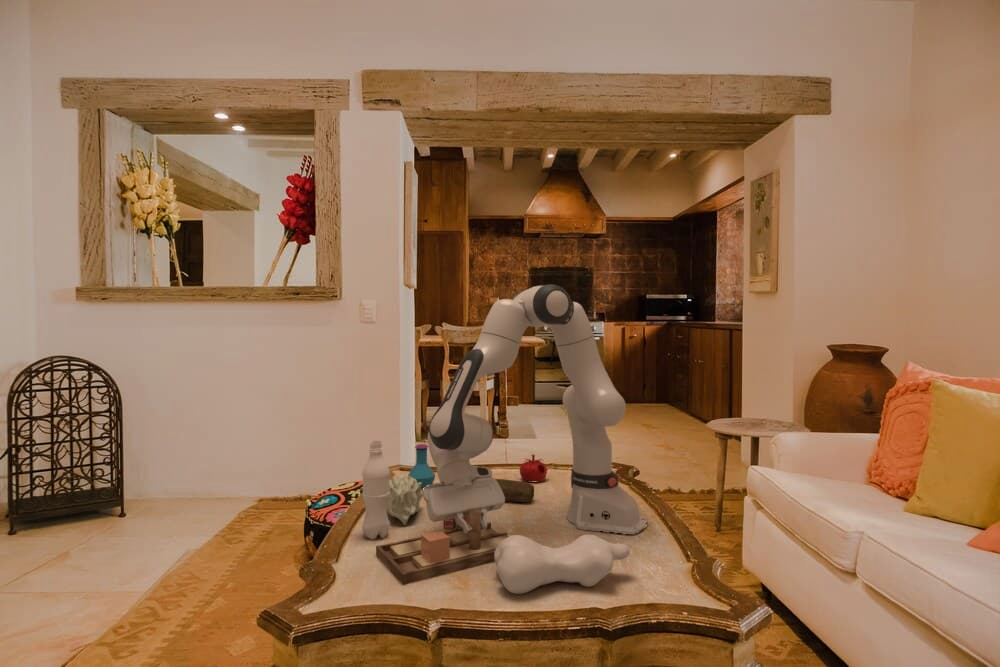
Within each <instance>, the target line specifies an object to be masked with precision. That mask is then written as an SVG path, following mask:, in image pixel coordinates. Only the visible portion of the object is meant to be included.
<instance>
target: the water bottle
mask: <svg viewBox="0 0 1000 667" xmlns="http://www.w3.org/2000/svg"><path fill="white" fill-rule="evenodd" d="M369 446H370V447H369V450H368V452H369V456H368V459H367V461H366V462H365V465H364V466H363V469H362V472H361V473H362V474H361V475H362V495H361V497H362V500H363V501H364V502H363V503H364V506H365V513H364V518H363V521H362V522H363V523H362V525H361V526H362V532H363V535H364V537H365V538H368V539H370V540H377V537H378V535H379V537H380V538H381V539H383V538H385V537H386V536H387V535H388V533H389V530H390V526H391V523H390V520H389V517H388V511H387V504H388V500H389V497H390V491H389V480H390V474H391V472H390V468H389V466H388V463H387V462H386V459H385V458H384V456H383V451H384V450H383V442H382V441H381V440H380V441H379V440H375V441H373V440H372V441H370V445H369Z"/></svg>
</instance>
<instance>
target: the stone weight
mask: <svg viewBox="0 0 1000 667" xmlns="http://www.w3.org/2000/svg"><path fill="white" fill-rule="evenodd" d="M494 479H495V480H496V481H497V482H498V484H499V485H500V487H501V489H502V492H503V494H504V496H505V502H512V503H530V502H532V501H533V499H534V496H535V486H534V485H533V484H532V483H530V482H527V481H519V480H513V479H511V480H510V479H505V478H504V479H503V478H494Z"/></svg>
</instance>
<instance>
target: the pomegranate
mask: <svg viewBox="0 0 1000 667" xmlns="http://www.w3.org/2000/svg"><path fill="white" fill-rule="evenodd" d="M531 457H532V458H531V459H529V458H526V459H525V461H524V462H523V463H522V464H521V465H520V466H519V474H520V477H521V478H522V479H523V480H524V481H525V480H526V481H525V482H527V481H541V480H543V481H545V479H546V476H547V473H548V469H547V466H546V465H545V463H544V459H541V458H540V459H536V460H535V457H536V455H535V454H531ZM542 461H543V462H542ZM541 482H542V481H541Z"/></svg>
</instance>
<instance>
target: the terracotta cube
mask: <svg viewBox="0 0 1000 667" xmlns="http://www.w3.org/2000/svg"><path fill="white" fill-rule="evenodd" d="M444 532H445V531H442V530H441V529H440V530H435V531H430V532H426V533H422V534H420V537H421V556H422V557H423V558H424V559H425V560H426V561H428V562H429V563H434V562H438V561H442V560H446V559H450V537H449V536H448V535H446V534H445V533H444Z"/></svg>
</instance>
